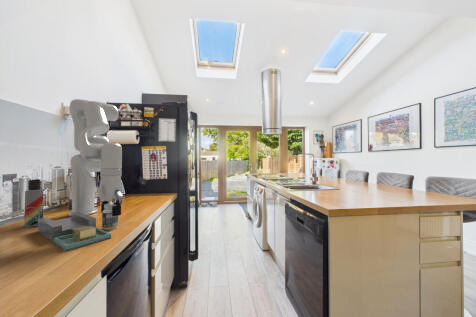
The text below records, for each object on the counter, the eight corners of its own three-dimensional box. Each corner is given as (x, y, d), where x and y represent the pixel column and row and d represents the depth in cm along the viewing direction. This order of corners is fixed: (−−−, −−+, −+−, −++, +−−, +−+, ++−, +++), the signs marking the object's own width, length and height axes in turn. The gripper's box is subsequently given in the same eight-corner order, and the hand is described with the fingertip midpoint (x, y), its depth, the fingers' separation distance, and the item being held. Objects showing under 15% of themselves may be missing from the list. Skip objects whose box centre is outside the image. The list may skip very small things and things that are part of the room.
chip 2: (76, 229, 68) (80, 231, 66) (91, 226, 72) (95, 227, 70) (76, 241, 68) (79, 243, 66) (91, 237, 72) (95, 239, 70)
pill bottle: (101, 227, 84) (101, 203, 84) (117, 224, 87) (117, 202, 87) (102, 231, 79) (102, 206, 79) (119, 228, 82) (119, 204, 83)
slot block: (37, 231, 79) (38, 218, 79) (77, 222, 90) (78, 211, 90) (52, 241, 69) (52, 227, 69) (95, 230, 79) (96, 218, 79)
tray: (53, 242, 68) (53, 237, 68) (97, 231, 79) (97, 227, 79) (65, 251, 61) (65, 246, 61) (111, 237, 72) (111, 233, 72)
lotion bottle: (30, 227, 83) (31, 179, 84) (20, 226, 85) (21, 179, 85) (46, 223, 89) (47, 178, 89) (36, 222, 90) (37, 178, 90)
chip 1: (71, 238, 70) (71, 228, 70) (86, 234, 74) (87, 225, 74) (75, 241, 68) (75, 231, 68) (91, 237, 72) (91, 227, 72)
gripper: (92, 172, 85) (91, 212, 85) (111, 174, 75) (110, 219, 75) (111, 171, 91) (110, 209, 91) (131, 173, 82) (130, 215, 81)
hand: (110, 213), depth 83 cm, fingers open, 9 cm apart
